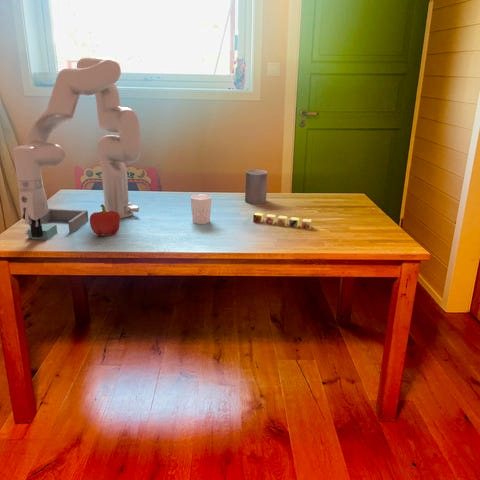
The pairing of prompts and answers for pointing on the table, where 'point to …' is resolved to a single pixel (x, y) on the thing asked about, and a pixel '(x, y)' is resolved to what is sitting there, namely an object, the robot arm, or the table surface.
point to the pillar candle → (256, 186)
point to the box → (67, 217)
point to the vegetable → (105, 222)
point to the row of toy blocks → (282, 220)
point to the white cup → (201, 208)
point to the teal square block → (45, 231)
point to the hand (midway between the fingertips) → (37, 236)
